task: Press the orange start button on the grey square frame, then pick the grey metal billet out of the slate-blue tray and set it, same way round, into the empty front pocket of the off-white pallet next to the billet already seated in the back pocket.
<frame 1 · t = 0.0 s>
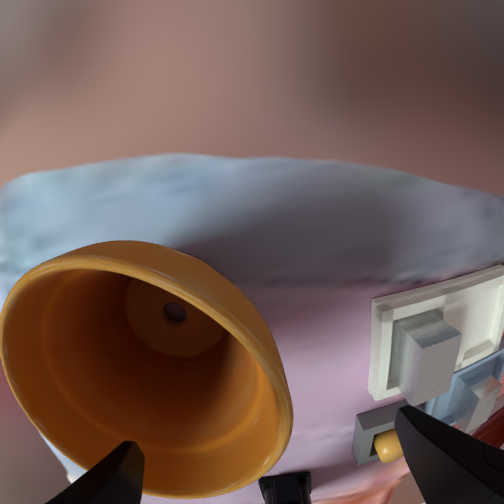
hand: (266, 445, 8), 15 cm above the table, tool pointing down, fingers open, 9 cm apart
grey square frame: (382, 426, 26), on the table
start button: (391, 443, 23), point 3 cm above the table, slide at 0.0 cm
billet loaded: (410, 344, 22), point 1 cm above the table, touching pallet
pallet: (443, 326, 23), on the table
tray: (461, 386, 26), on the table
flower pot: (179, 305, 22), on the table
billet: (463, 388, 25), resting on tray
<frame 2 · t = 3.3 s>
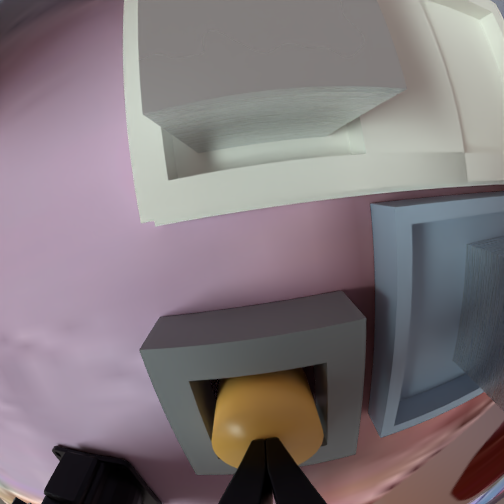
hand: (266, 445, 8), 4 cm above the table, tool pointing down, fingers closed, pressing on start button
grey square frame: (262, 380, 11), on the table
start button: (265, 415, 9), point 2 cm above the table, slide at -0.8 cm, touching gripper
billet loaded: (248, 58, 8), point 1 cm above the table, touching pallet
pallet: (370, 65, 9), on the table
tray: (483, 295, 11), on the table
billet: (487, 297, 10), resting on tray
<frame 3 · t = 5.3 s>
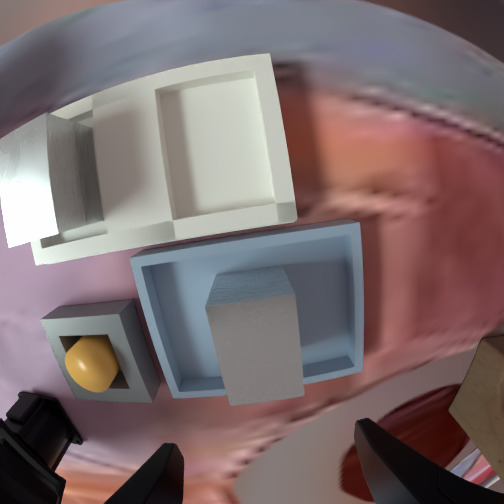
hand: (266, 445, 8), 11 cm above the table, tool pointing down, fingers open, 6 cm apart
grey square frame: (106, 346, 19), on the table
start button: (95, 359, 17), point 2 cm above the table, slide at -1.0 cm
billet loaded: (71, 181, 15), point 1 cm above the table, touching pallet
pallet: (141, 163, 16), on the table
wooden block: (475, 372, 21), on the table
tray: (255, 312, 18), on the table
billet: (255, 314, 18), resting on tray
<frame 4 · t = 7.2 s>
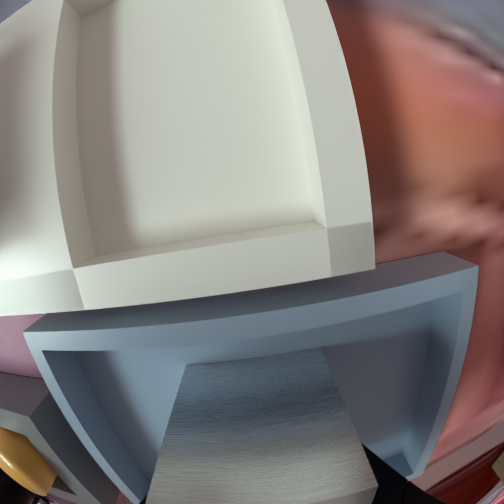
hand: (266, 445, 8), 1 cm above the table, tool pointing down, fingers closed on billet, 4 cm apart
grey square frame: (43, 428, 10), on the table
start button: (26, 452, 8), point 2 cm above the table, slide at -1.0 cm
pallet: (45, 144, 7), on the table
tray: (264, 417, 9), on the table
billet: (264, 424, 9), resting on tray, touching gripper
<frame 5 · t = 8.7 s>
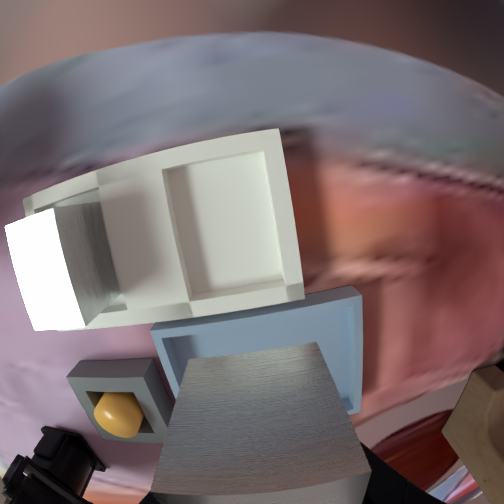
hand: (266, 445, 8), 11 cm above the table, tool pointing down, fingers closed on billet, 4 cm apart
grey square frame: (129, 394, 20), on the table
start button: (121, 409, 18), point 2 cm above the table, slide at -1.0 cm
billet loaded: (84, 253, 17), point 1 cm above the table, touching pallet
pallet: (152, 237, 17), on the table
wooden block: (467, 398, 22), on the table
tray: (265, 367, 20), on the table
billet: (264, 418, 9), point 10 cm above the table, touching gripper
when the fingers open (4 cm above the table, at t = 10.6 s): billet stays where it is, resting on pallet.
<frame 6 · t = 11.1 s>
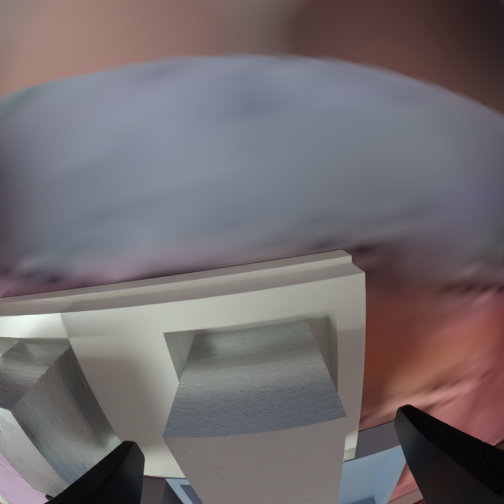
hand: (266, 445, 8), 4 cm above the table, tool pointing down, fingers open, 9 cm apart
grey square frame: (140, 497, 14), on the table
billet loaded: (69, 393, 11), point 1 cm above the table, touching pallet
pallet: (157, 384, 12), on the table
tray: (293, 487, 14), on the table
billet: (261, 391, 11), point 1 cm above the table, touching pallet
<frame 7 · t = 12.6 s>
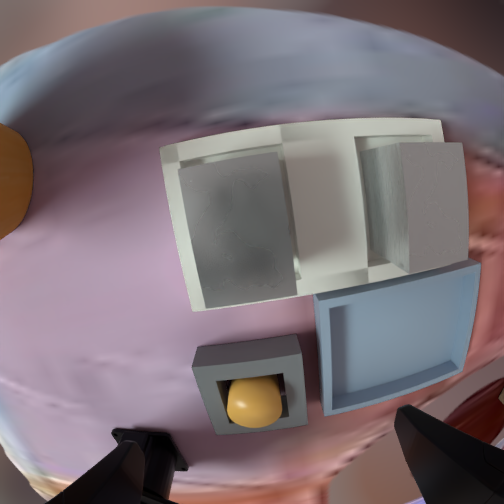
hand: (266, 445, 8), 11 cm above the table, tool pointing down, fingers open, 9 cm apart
grey square frame: (254, 379, 20), on the table
start button: (254, 396, 18), point 2 cm above the table, slide at -1.0 cm
billet loaded: (242, 218, 16), point 1 cm above the table, touching pallet
pallet: (320, 204, 17), on the table
tray: (398, 333, 20), on the table
flower pot: (4, 181, 17), on the table
billet: (394, 197, 16), point 1 cm above the table, touching pallet
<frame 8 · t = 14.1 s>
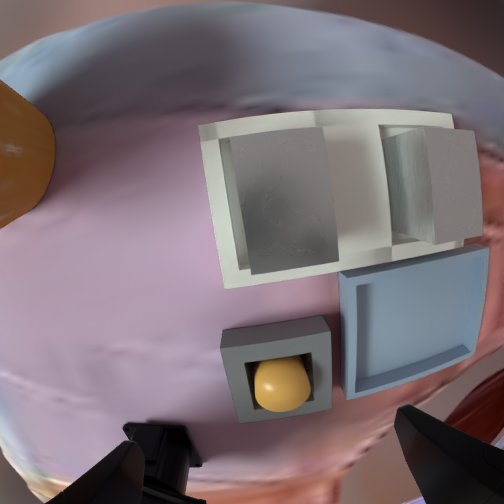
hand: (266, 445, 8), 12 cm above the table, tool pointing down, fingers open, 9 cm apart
grey square frame: (277, 363, 21), on the table
start button: (280, 379, 19), point 2 cm above the table, slide at -1.0 cm
billet loaded: (275, 197, 17), point 1 cm above the table, touching pallet
pallet: (345, 187, 18), on the table
tray: (415, 316, 20), on the table
flower pot: (22, 161, 17), on the table
billet: (412, 183, 17), point 1 cm above the table, touching pallet
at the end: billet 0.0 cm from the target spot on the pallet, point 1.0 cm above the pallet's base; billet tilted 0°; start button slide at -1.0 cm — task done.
